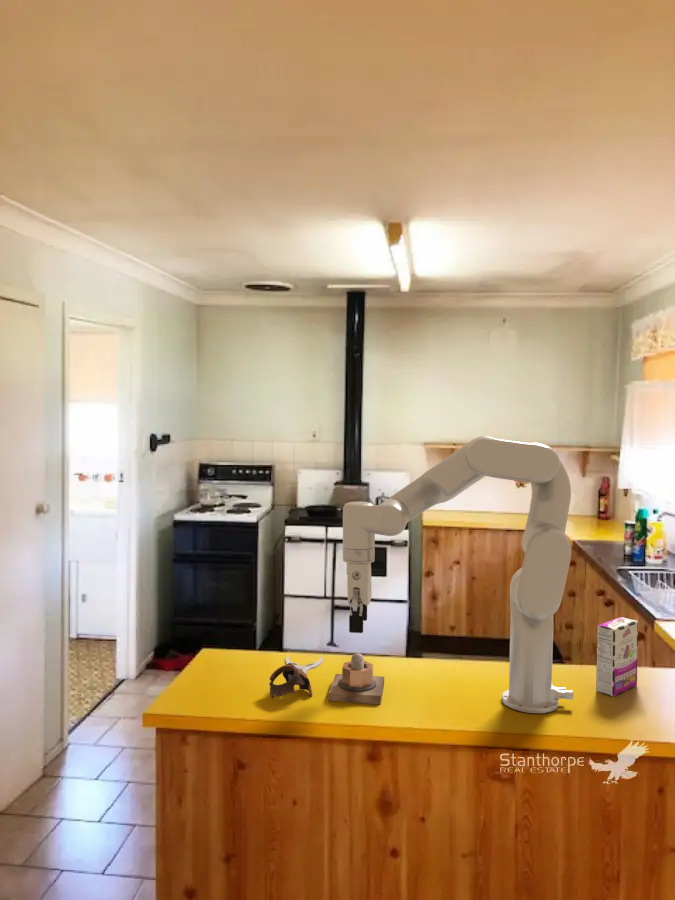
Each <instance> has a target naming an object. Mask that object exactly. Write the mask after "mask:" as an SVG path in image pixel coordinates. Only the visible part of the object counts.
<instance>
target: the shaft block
mask: <svg viewBox="0 0 675 900" xmlns="http://www.w3.org/2000/svg"><path fill="white" fill-rule="evenodd" d="M350 661H351V668H352V669H364V661H365V658H364V655H362V653H359V652H356V653H353V654H352V656H351V658H350ZM384 686H385V676H383V675H382V676H379V675H373V682H372V686H368V687H365V688H350V687H348V686H346V685H344V684H342V674H341V673H335V675H334V677H333V680H332V683H331V686H330V687H329V688H330V689H329V691H328V702H335V701H342V702H341V703H352V704H353V703H354V704H368V705H369V704H370V705H381V704H382V699H383V694H384V693H383V692H384Z"/></svg>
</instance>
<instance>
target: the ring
mask: <svg viewBox="0 0 675 900" xmlns="http://www.w3.org/2000/svg"><path fill="white" fill-rule="evenodd" d="M341 669H342V672H341V673H342V684H344V685H346V686H348V687H350V688H365V687H368V686H372V682H373V676H374V674H373V673H374V664H373V663H371V662H368V661H366V660H364V669H352V668H351V660H350V661H346V662H343V664H342V668H341Z"/></svg>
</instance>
